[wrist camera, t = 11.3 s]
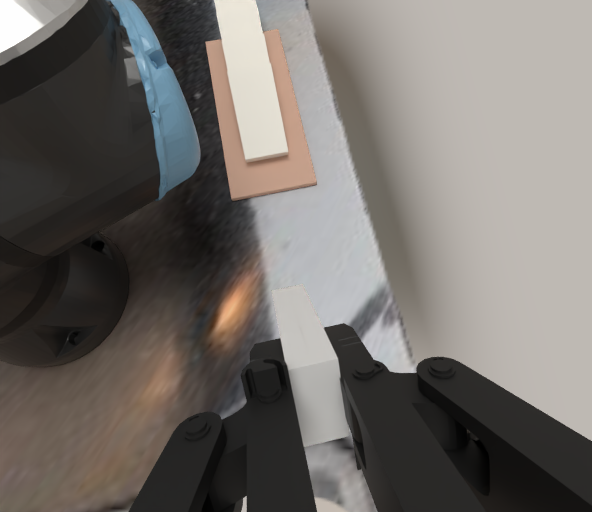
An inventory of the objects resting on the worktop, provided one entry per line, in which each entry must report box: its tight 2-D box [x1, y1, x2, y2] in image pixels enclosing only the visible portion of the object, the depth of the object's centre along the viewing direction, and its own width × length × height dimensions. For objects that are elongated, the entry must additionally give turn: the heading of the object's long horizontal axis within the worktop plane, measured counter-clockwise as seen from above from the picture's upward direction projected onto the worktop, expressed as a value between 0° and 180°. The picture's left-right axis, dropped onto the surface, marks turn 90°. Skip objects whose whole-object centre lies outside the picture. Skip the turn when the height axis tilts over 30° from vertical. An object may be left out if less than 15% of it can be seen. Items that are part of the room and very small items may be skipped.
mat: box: [206, 29, 317, 201], centre depth 44 cm, size 24×10×1 cm, turn 12°
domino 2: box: [216, 6, 263, 41], centre depth 43 cm, size 2×5×10 cm
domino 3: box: [222, 34, 270, 71], centre depth 41 cm, size 2×5×10 cm
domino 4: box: [227, 63, 288, 163], centre depth 40 cm, size 2×5×10 cm
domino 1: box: [214, 0, 256, 13], centre depth 44 cm, size 2×5×10 cm
